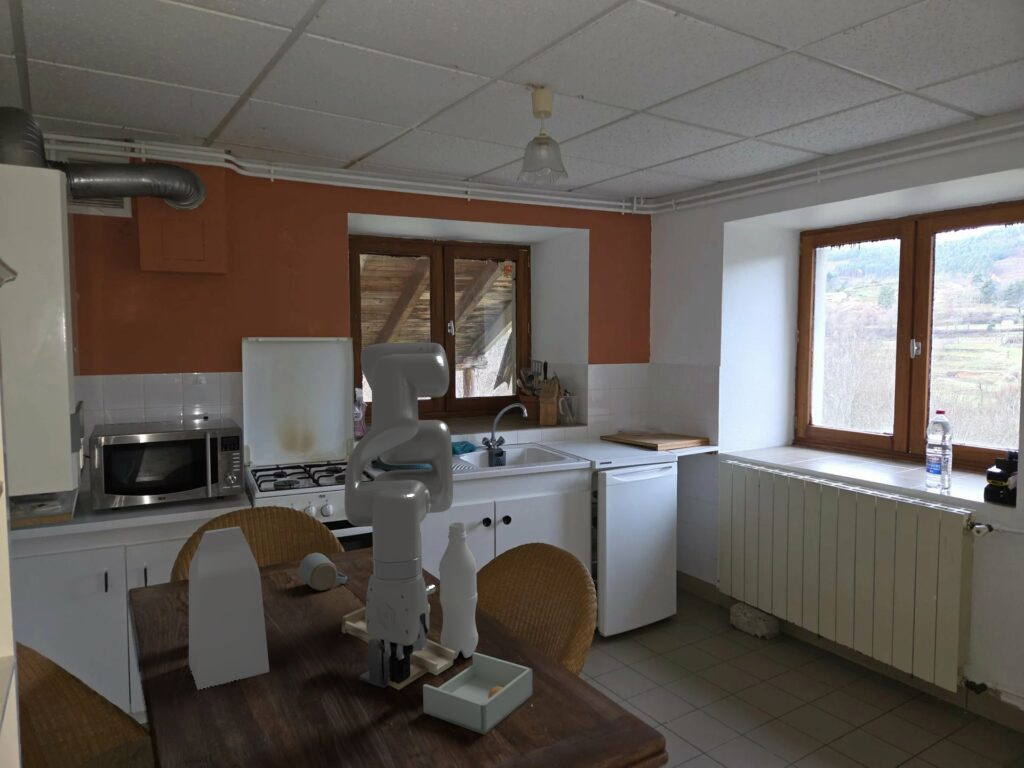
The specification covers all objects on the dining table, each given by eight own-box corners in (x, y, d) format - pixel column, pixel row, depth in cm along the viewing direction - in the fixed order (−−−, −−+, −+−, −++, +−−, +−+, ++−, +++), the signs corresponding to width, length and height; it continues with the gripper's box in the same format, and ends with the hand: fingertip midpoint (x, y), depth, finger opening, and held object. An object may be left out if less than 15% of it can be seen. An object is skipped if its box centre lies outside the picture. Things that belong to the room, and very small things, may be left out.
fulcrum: (359, 679, 123) (358, 639, 123) (394, 659, 131) (393, 622, 130) (384, 688, 120) (383, 647, 120) (418, 667, 127) (417, 629, 127)
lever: (312, 645, 122) (313, 629, 122) (364, 621, 132) (365, 606, 132) (407, 694, 110) (408, 676, 110) (455, 663, 121) (456, 647, 120)
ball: (493, 695, 115) (498, 679, 114) (508, 706, 113) (513, 690, 112) (482, 704, 112) (487, 687, 111) (497, 715, 111) (502, 699, 110)
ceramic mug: (310, 595, 165) (310, 563, 164) (298, 585, 171) (298, 555, 171) (352, 586, 171) (352, 555, 171) (339, 577, 178) (339, 547, 177)
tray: (475, 676, 124) (474, 652, 123) (532, 694, 117) (532, 668, 117) (423, 712, 112) (423, 685, 112) (484, 734, 105) (483, 706, 105)
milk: (197, 690, 120) (191, 542, 119) (188, 664, 130) (182, 527, 128) (269, 671, 127) (264, 531, 125) (255, 648, 136) (250, 518, 135)
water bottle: (461, 641, 138) (459, 517, 136) (486, 653, 133) (483, 524, 131) (433, 653, 133) (430, 524, 131) (457, 665, 128) (454, 531, 126)
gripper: (346, 566, 112) (350, 677, 113) (417, 581, 104) (420, 701, 105) (379, 554, 119) (382, 659, 120) (448, 568, 110) (451, 681, 111)
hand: (400, 679), depth 112 cm, fingers closed
